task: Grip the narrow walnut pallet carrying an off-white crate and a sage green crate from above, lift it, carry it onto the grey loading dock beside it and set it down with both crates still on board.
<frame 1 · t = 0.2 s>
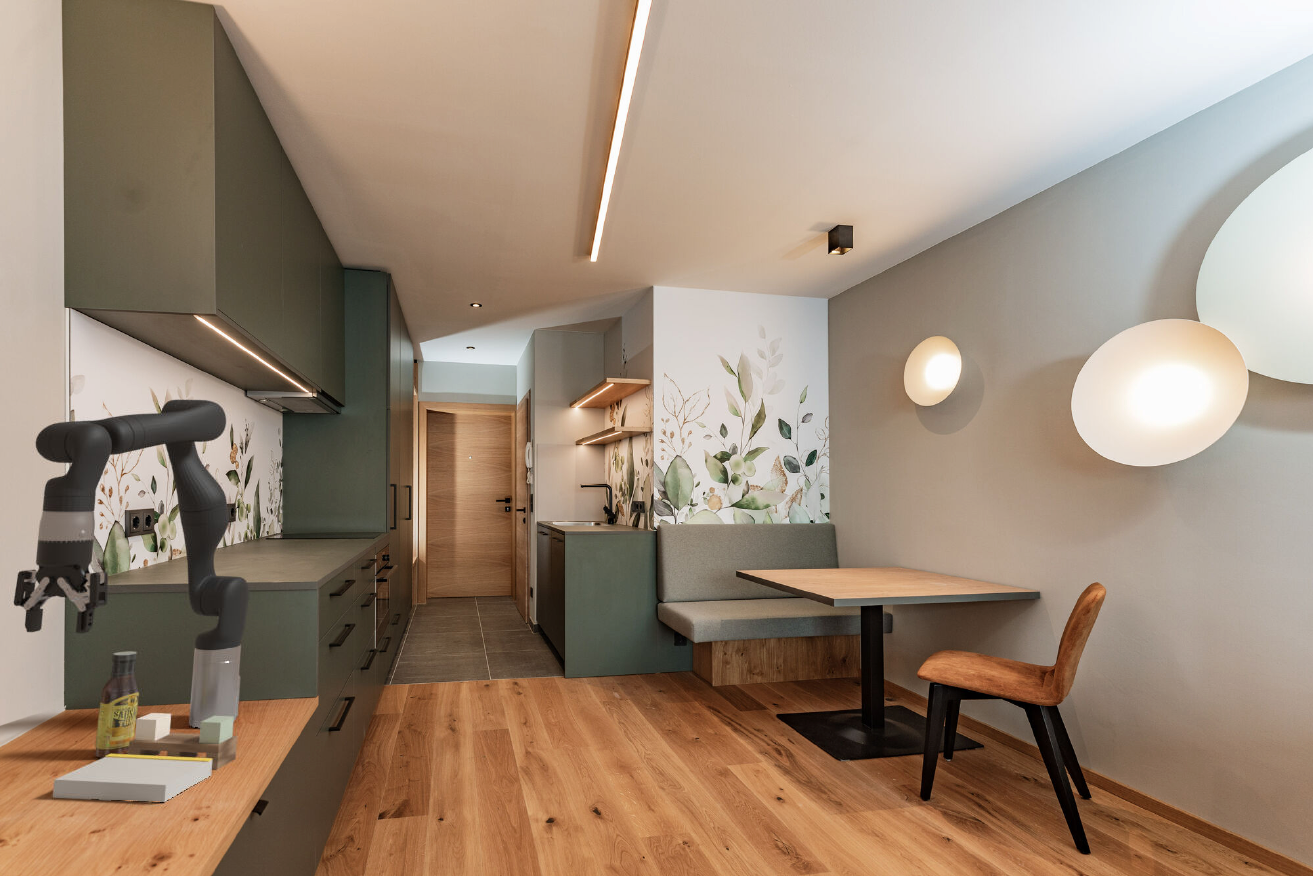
hand: (58, 632, 123), 29 cm above the worktop, tool pointing down, fingers open, 8 cm apart
green crate: (215, 740, 141), point 4 cm above the worktop, touching pallet
pallet: (182, 762, 141), on the worktop, touching green crate, white crate
sauce bottle: (114, 754, 144), on the worktop
white crate: (152, 737, 142), point 4 cm above the worktop, touching pallet
dock: (135, 786, 129), on the worktop
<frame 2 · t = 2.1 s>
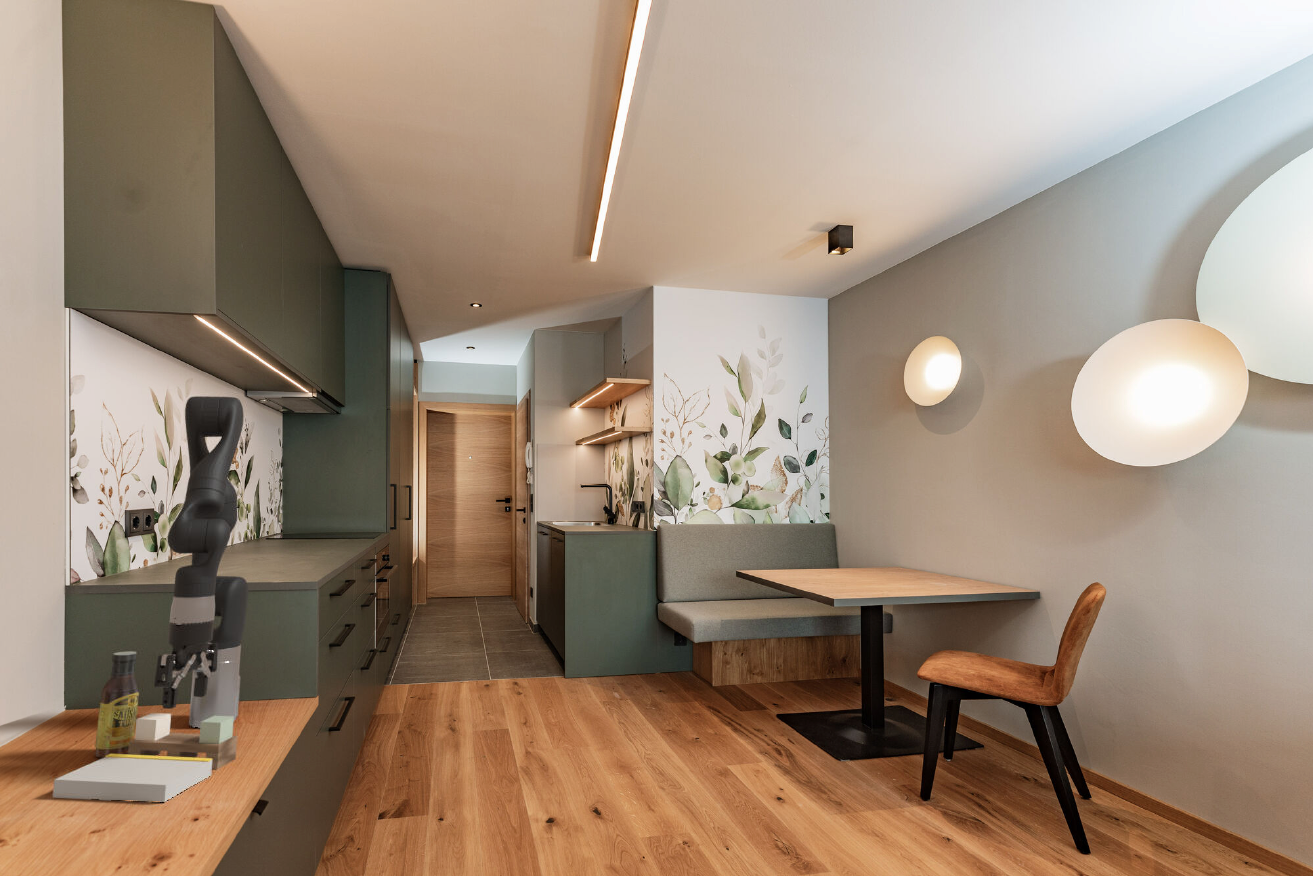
hand: (184, 702, 142), 12 cm above the worktop, tool pointing down, fingers open, 8 cm apart
nothing on the worktop moved.
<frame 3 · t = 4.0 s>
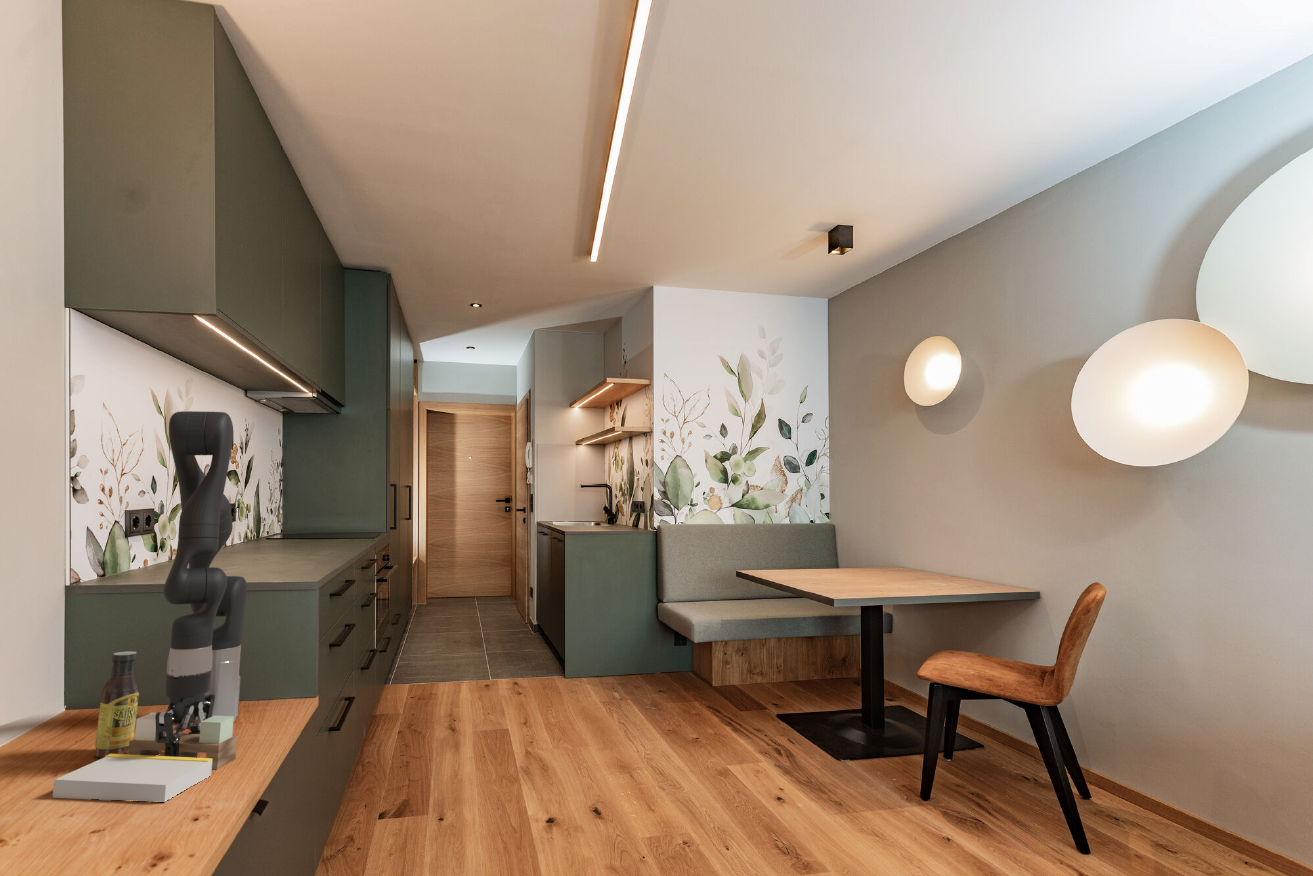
hand: (182, 756, 141), 1 cm above the worktop, tool pointing down, fingers closed on pallet, 5 cm apart
pallet: (182, 761, 141), on the worktop, touching green crate, gripper, white crate
everything else where it was.
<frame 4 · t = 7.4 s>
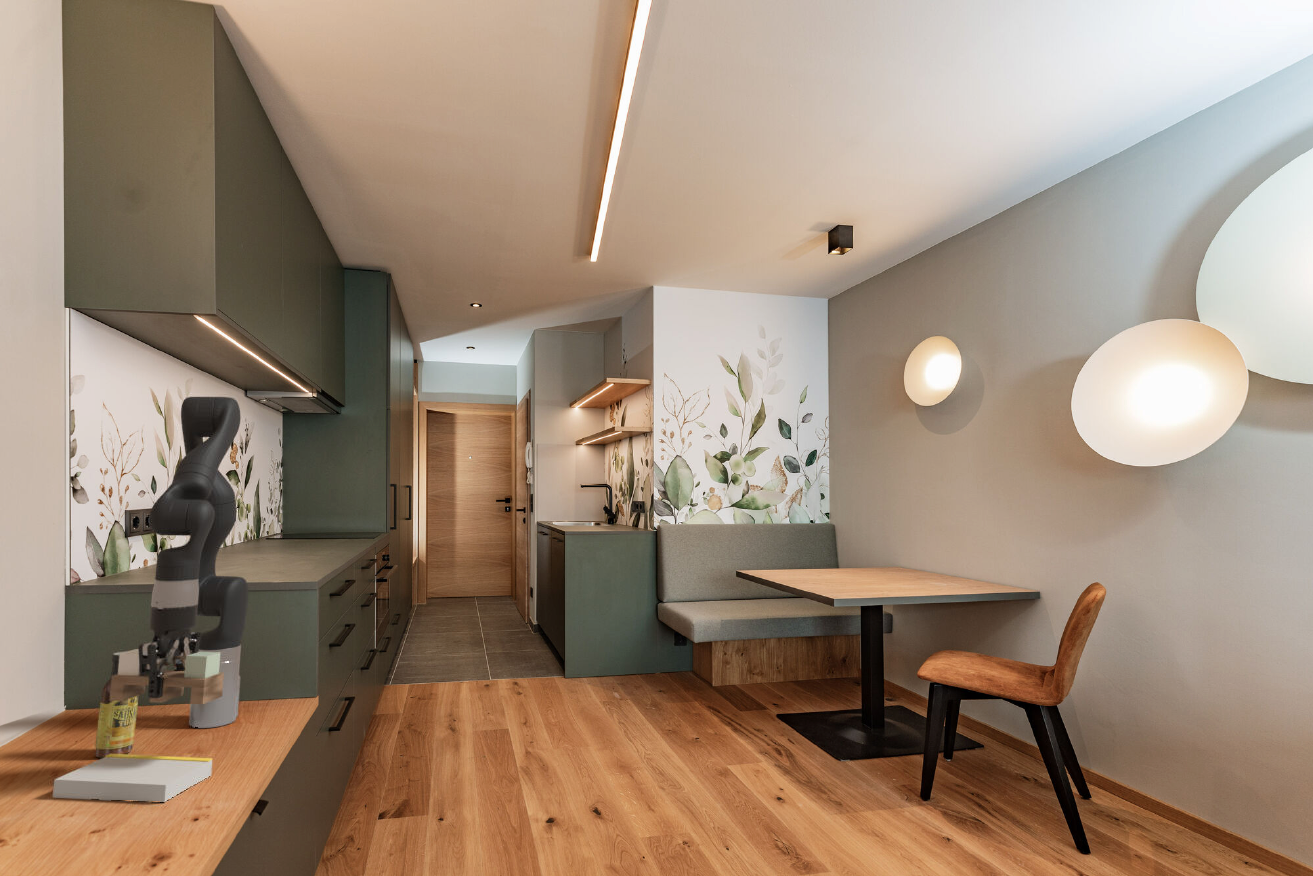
hand: (167, 692, 136), 15 cm above the worktop, tool pointing down, fingers closed on pallet, 5 cm apart
green crate: (201, 675, 136), point 18 cm above the worktop, touching pallet
pallet: (166, 698, 136), point 14 cm above the worktop, touching green crate, gripper, white crate
white crate: (136, 673, 137), point 18 cm above the worktop, touching pallet
everything else where it was.
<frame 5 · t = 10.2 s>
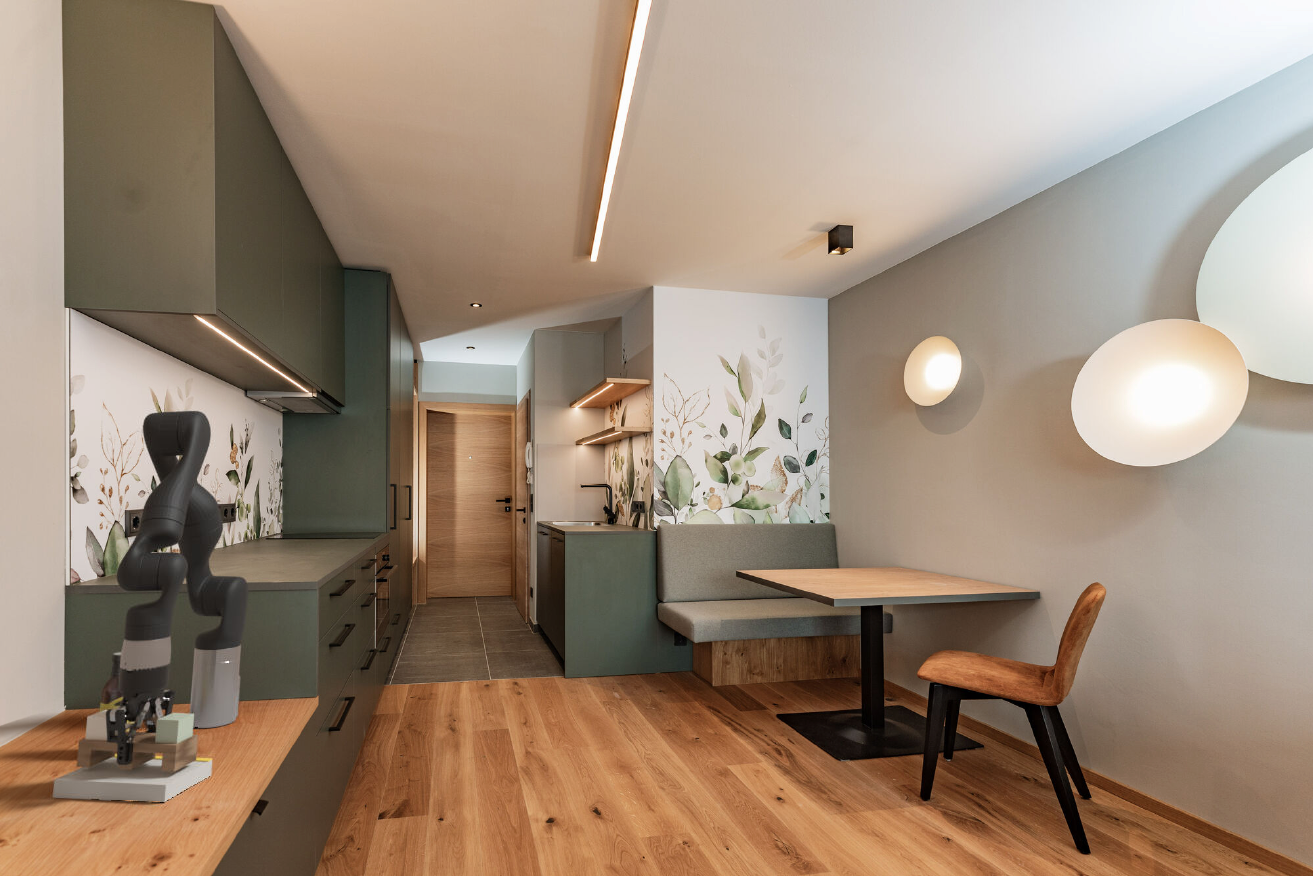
hand: (137, 757, 129), 5 cm above the worktop, tool pointing down, fingers closed on pallet, 5 cm apart
green crate: (174, 739, 129), point 8 cm above the worktop, touching pallet
pallet: (137, 763, 129), point 4 cm above the worktop, touching green crate, gripper, white crate
white crate: (105, 736, 130), point 8 cm above the worktop, touching pallet
everything else where it was.
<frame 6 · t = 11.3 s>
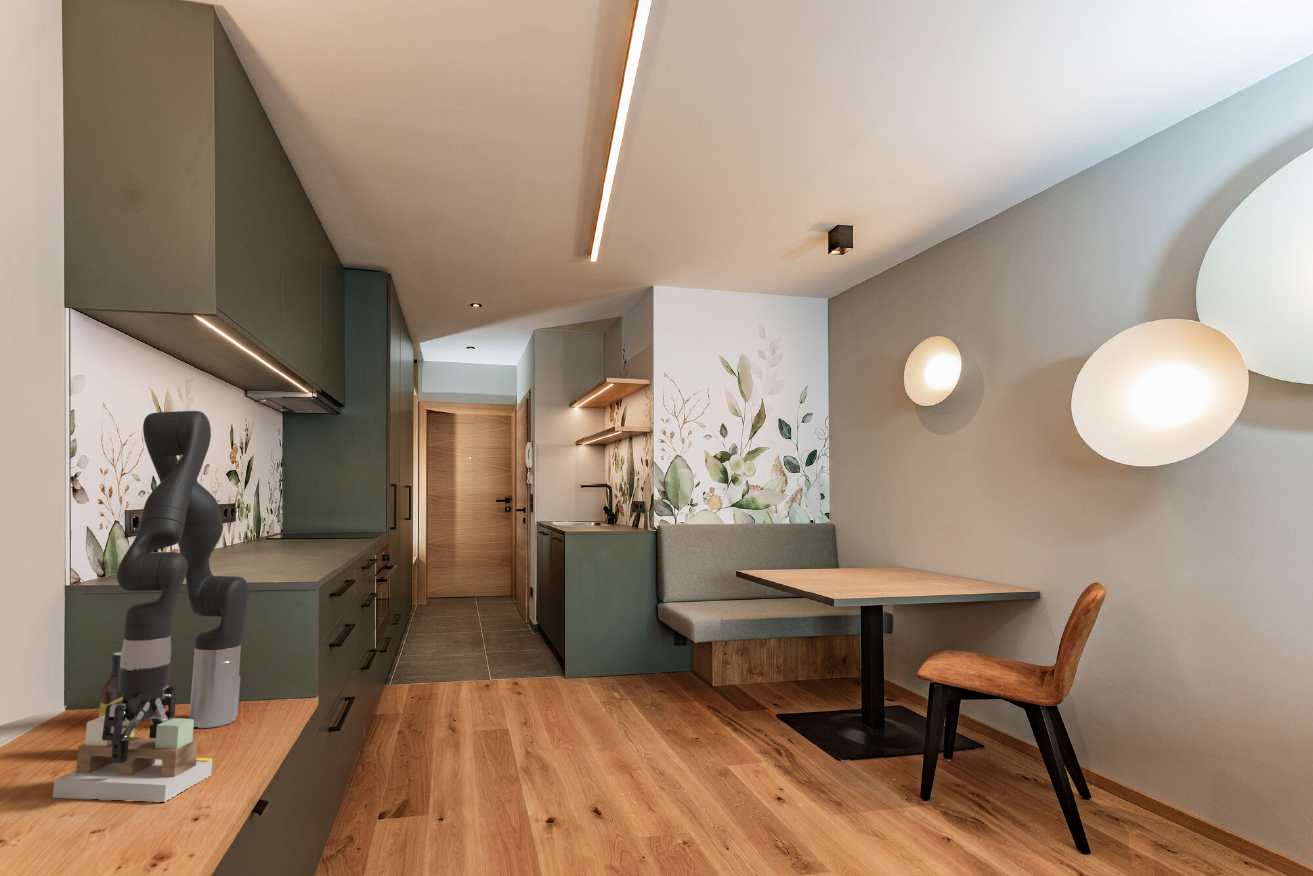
hand: (138, 753, 129), 6 cm above the worktop, tool pointing down, fingers open, 8 cm apart
pallet: (137, 768, 129), point 3 cm above the worktop, touching dock, green crate, white crate
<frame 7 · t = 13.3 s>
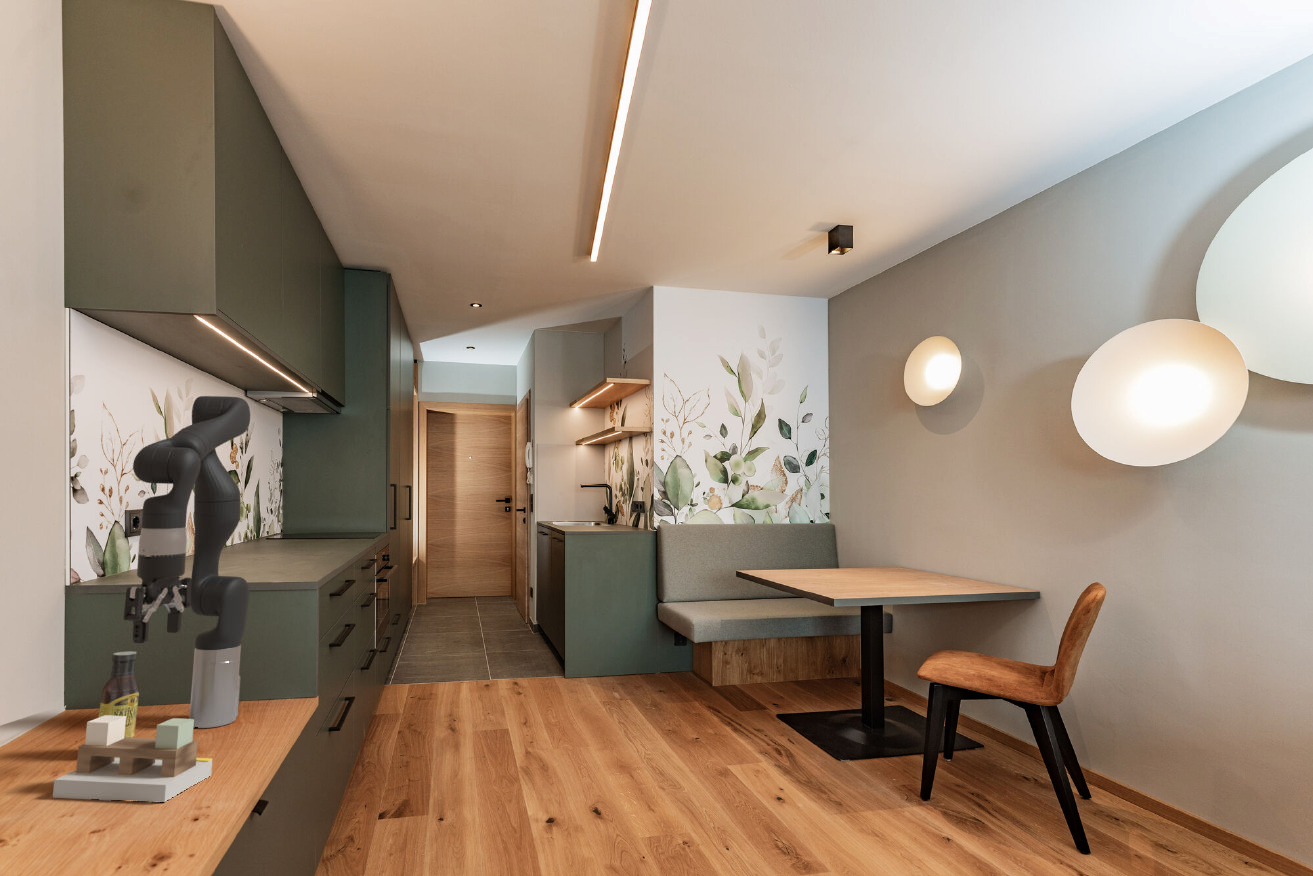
hand: (157, 637, 136), 25 cm above the worktop, tool pointing down, fingers open, 8 cm apart
nothing on the worktop moved.
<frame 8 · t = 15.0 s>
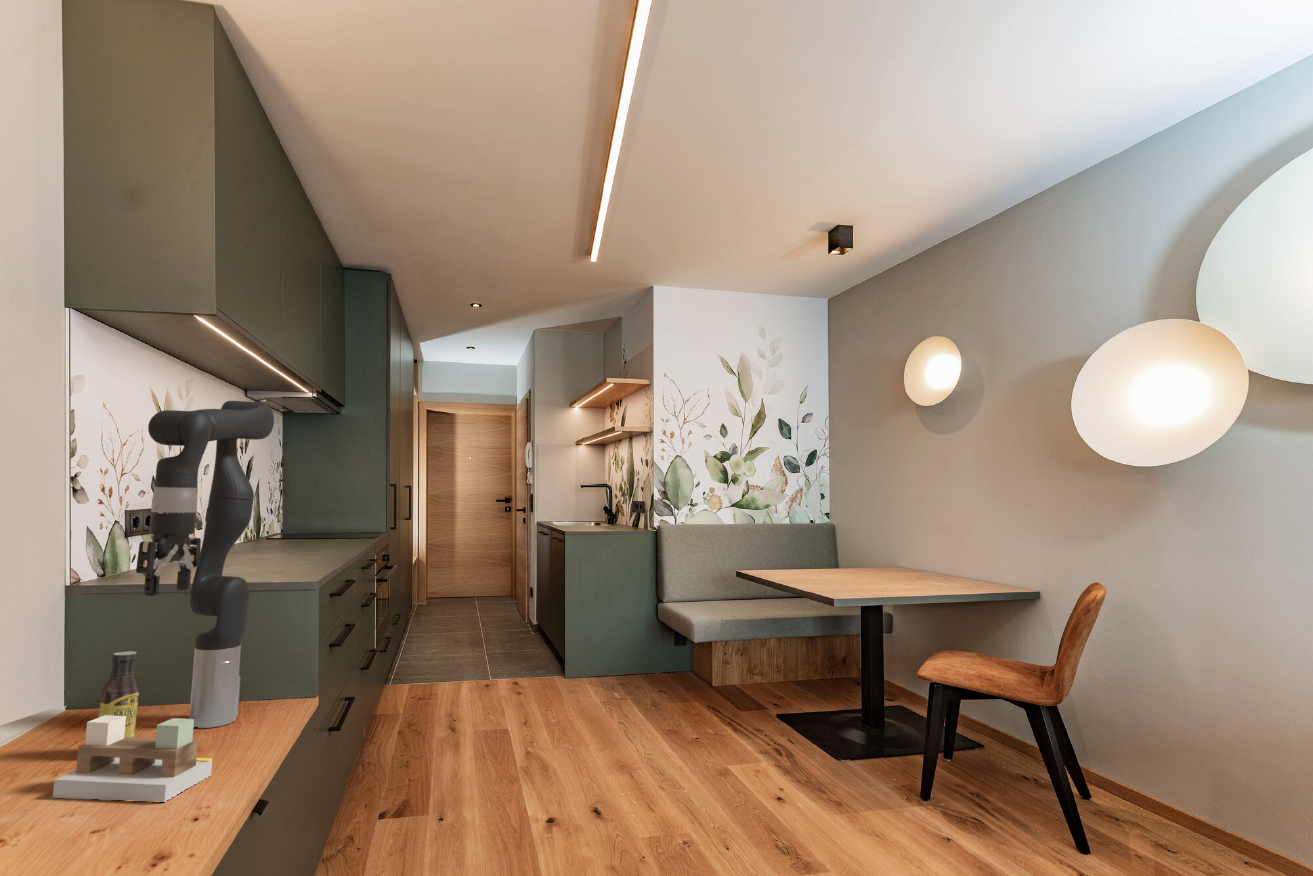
hand: (167, 592, 141), 33 cm above the worktop, tool pointing down, fingers open, 8 cm apart
nothing on the worktop moved.
at the end: pallet 0.1 cm off-centre on the dock, point 3.0 cm above the dock's base; white crate touching pallet; green crate touching pallet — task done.
